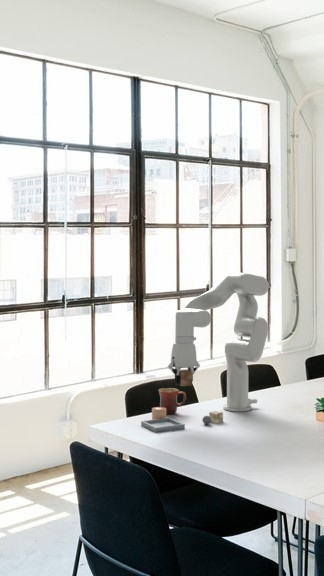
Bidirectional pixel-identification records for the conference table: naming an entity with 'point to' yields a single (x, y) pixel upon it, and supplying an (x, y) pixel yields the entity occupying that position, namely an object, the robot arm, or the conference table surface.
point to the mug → (170, 399)
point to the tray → (162, 424)
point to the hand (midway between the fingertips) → (183, 383)
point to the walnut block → (185, 377)
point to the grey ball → (206, 420)
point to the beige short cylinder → (158, 413)
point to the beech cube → (216, 416)
